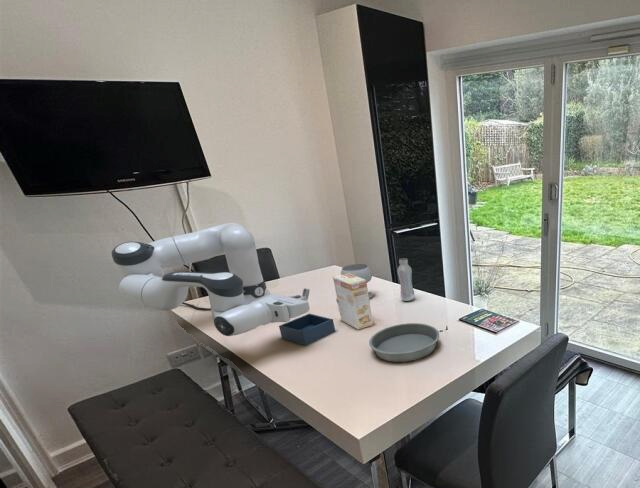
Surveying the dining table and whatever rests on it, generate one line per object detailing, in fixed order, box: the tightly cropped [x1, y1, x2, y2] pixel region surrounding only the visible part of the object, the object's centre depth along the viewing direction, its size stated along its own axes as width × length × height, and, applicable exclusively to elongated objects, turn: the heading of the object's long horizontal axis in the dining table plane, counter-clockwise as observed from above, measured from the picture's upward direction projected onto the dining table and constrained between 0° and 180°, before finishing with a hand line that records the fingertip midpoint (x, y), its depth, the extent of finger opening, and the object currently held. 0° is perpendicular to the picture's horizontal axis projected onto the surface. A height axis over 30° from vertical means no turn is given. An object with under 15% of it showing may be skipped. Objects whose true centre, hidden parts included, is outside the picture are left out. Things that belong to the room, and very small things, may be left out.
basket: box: [278, 313, 336, 346], centre depth 159 cm, size 14×14×5 cm
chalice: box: [340, 263, 374, 299], centre depth 195 cm, size 14×14×15 cm
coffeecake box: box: [332, 273, 374, 330], centre depth 166 cm, size 15×7×20 cm, turn 47°
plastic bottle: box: [396, 257, 416, 302], centre depth 190 cm, size 6×7×20 cm
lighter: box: [296, 288, 311, 301], centre depth 154 cm, size 7×2×8 cm, turn 153°
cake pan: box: [368, 322, 440, 363], centre depth 148 cm, size 25×25×4 cm
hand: (302, 297), depth 154 cm, fingers closed on lighter, 2 cm apart
